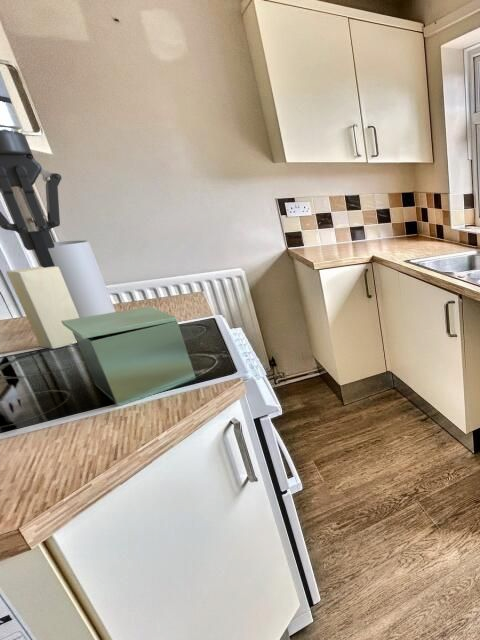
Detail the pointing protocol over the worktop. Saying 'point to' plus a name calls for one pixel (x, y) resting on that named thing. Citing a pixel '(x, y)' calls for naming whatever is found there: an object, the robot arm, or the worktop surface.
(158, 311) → the box lid
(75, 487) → the worktop surface
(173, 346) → the green open box
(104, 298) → the cylinder vase
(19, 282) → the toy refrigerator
